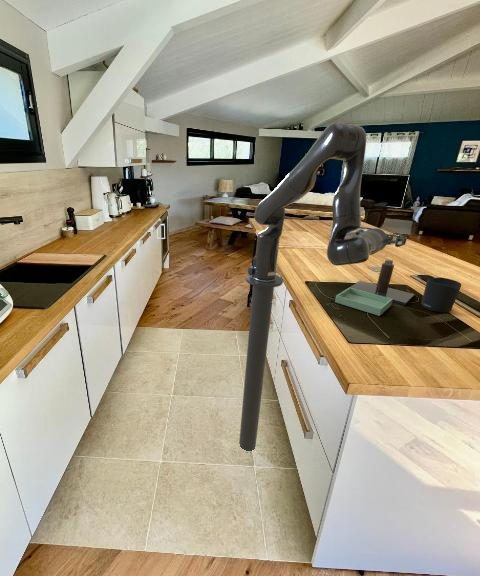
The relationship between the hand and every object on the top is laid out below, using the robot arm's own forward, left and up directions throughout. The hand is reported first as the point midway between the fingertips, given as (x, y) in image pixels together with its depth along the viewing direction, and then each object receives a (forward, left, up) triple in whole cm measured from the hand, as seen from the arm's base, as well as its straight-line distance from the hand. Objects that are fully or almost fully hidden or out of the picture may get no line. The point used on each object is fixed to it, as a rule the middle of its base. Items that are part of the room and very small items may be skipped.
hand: (386, 234), depth 107 cm
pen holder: (+18, +11, -25) cm, 33 cm away
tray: (-1, -5, -25) cm, 25 cm away
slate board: (0, +11, -25) cm, 27 cm away
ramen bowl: (-48, +97, -25) cm, 111 cm away
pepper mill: (0, +11, -24) cm, 26 cm away
